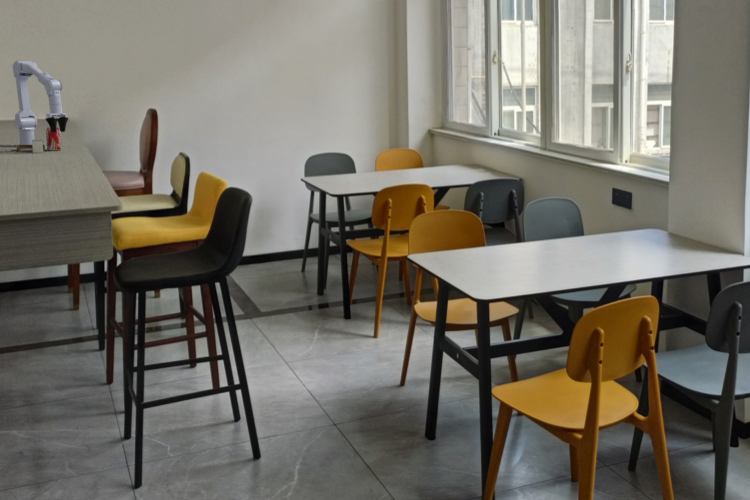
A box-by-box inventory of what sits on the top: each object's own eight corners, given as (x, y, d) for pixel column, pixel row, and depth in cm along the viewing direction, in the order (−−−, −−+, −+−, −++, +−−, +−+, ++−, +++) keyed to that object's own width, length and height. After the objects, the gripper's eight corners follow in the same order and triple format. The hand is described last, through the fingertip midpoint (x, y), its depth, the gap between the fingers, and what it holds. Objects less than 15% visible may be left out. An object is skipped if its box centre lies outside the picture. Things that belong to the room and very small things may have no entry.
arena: (17, 149, 390) (16, 144, 390) (44, 149, 395) (44, 144, 395) (16, 151, 383) (16, 146, 383) (44, 151, 388) (44, 146, 388)
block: (32, 151, 386) (31, 139, 384) (43, 151, 388) (42, 139, 386) (32, 152, 381) (31, 140, 380) (43, 152, 383) (42, 140, 382)
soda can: (56, 151, 390) (55, 127, 387) (44, 150, 391) (42, 126, 388) (64, 150, 396) (63, 126, 393) (52, 149, 398) (51, 125, 395)
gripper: (54, 104, 373) (57, 132, 376) (70, 104, 388) (73, 131, 390) (41, 104, 375) (44, 132, 377) (58, 104, 389) (61, 131, 391)
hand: (58, 132), depth 384 cm, fingers open, 7 cm apart
